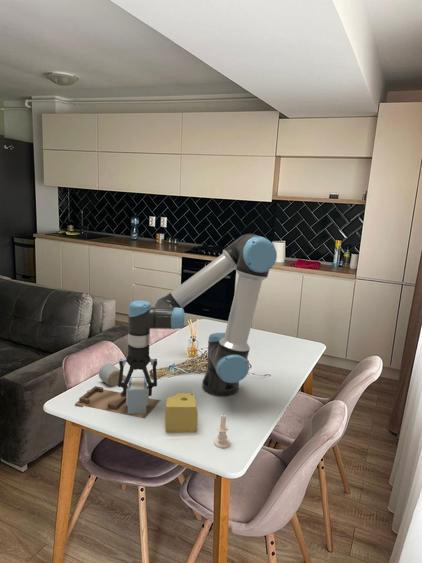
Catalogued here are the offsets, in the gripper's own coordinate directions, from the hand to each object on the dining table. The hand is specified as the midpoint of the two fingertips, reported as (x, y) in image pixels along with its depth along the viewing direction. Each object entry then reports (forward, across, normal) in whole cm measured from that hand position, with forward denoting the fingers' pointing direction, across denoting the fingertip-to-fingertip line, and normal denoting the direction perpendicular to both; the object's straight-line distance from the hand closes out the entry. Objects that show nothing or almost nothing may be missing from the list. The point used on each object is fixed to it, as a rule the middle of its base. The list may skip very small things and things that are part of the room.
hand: (137, 403), depth 155 cm
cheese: (+2, -15, +13) cm, 20 cm away
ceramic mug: (+2, +10, -22) cm, 24 cm away
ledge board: (+2, +7, -4) cm, 8 cm away
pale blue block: (+1, 0, 0) cm, 1 cm away
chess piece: (+1, -27, +25) cm, 37 cm away
